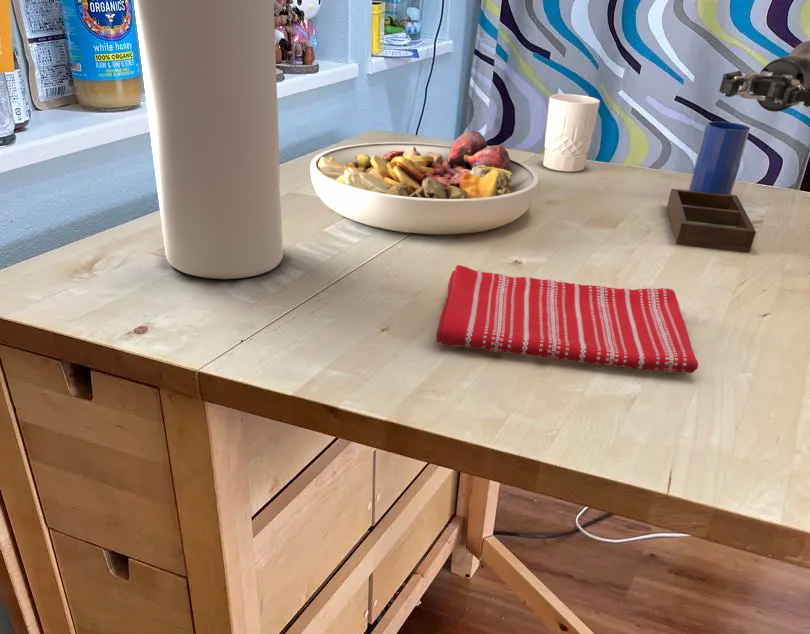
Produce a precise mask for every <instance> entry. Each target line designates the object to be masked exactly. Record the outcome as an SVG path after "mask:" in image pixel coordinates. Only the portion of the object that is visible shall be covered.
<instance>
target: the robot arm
mask: <svg viewBox="0 0 810 634" xmlns="http://www.w3.org/2000/svg"><path fill="white" fill-rule="evenodd" d="M719 86H720V87H719V91H718V92H719V93H720V94H725V96H724V97H727V98H732V97H734V96H739V97H740V98H743V99H746V100H747V99H750V100H752V99H753V100H756V101H757V103H758V104H759V106H760V107H761V108H763V109H764V110H766V111H769V112H774V113H776V112H782V111H785V110H787V109H790V108H792V107H795V106H799V105H800V103H803V106H805V108H809V107H810V40H805V41H803V42H801V43H799V44H798V45H797V46H795V47H794V49H792V50H791V51H790V53H789V54H788V55H787V56H782V57H780V58H777V59H774V60H772V61H770V62H769V63H767V64H766V65H765V66H764V67H763V68H762V69H761V70H760V72H747V73H745V75H744V73H743V72H742V71H741V70H736V71H732V72H727V73H724V74H723V75H722V79H721V82H720V85H719ZM740 87H741V89H740Z"/></svg>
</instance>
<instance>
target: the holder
mask: <svg viewBox="0 0 810 634" xmlns="http://www.w3.org/2000/svg"><path fill="white" fill-rule="evenodd" d="M666 209H667V214H668V217H669V221H670V225H671V229H672V233H673V236H674V241H675V244H676V245H679V246H680V245H681V246H690V247H697V248H708V249H715V250H725V251H734V252H743V253H750V252H751V250H752V246H753V243H754V239H755V236H756V233H757V231H756V228H755V227H754V225H753V222H752V221H751V219H750V217H749V215H748V213H747V212H746V209H745V207H744V206H743V204H742V202H741V200H740V199H739V197H738V195H737V194H736V195H735V194H731V195H728V194H719V193H709V192H700V191H690V190H689V189H680V188H671V189H670V192H669V197H668V201H667V205H666Z"/></svg>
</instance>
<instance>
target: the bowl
mask: <svg viewBox="0 0 810 634" xmlns="http://www.w3.org/2000/svg"><path fill="white" fill-rule="evenodd" d="M310 177H311V182H312V185H313V188H314V190H315V192H316V194H317V196H318V197H319V199H320V200H321V201H322V202H323V203H324V205H326V206H327V207H329V208H330V209H331V210H332V211H334V212H335V213H337V214H339V215H340V216H343V217H345V218H347V219H349V220H352V221H354V222H357V223H359V224H363V225H367V226H370V227H375V228H379V229H382V230H383V229H384V230H387V231H388V230H389V231H395V232H401V233H409V234H422V235H459V234H460V235H461V234H462V235H463V234H470V233H479V232H485V231H490V230H493V229H496V228H497V229H498V228H499V227H503V226H505V225H507V224H510V223H512V222H514V221H516V220H517V219H519V218H520V217H521V216H522V215H523V214H525V213H526V212H527V211H528V209H530V207H531V206H532V204H533V202H534V200H535V199H536V196H537V193H538V188H539V182H540V178H539V175H538V173H537V172H536V171H535V170H534V169H533V168H531V167H530V166H529V165H527V164H525V163H523V162H521V161H519V160H517V159H515V158H511V157H510V155H509V152H508V150H506V148H505V147H504V146H502V145H499V144H497V145H496V144H495V145H494V144H493V145H489V146H488V144H487V141H486V138H485V136H483V134H482V133H480V132H479V131H477V130H469V131H465V132H463V133H462V134H461V135H460V136H458V137H457V138H456V139H455V140H454V141H453V143H452V145H451V144H443V143H442V144H441V143H432V142H431V143H430V142H417V141H416V142H415V141H414V142H412V141H383V142H382V141H381V142H378V141H377V142H366V143H356V144H349V145H344V146H339V147H334V148H331V149H328V150H325V151H322V152H320V153H319V154H317V155H316V156H314V157H313V159H311V162H310Z"/></svg>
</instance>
